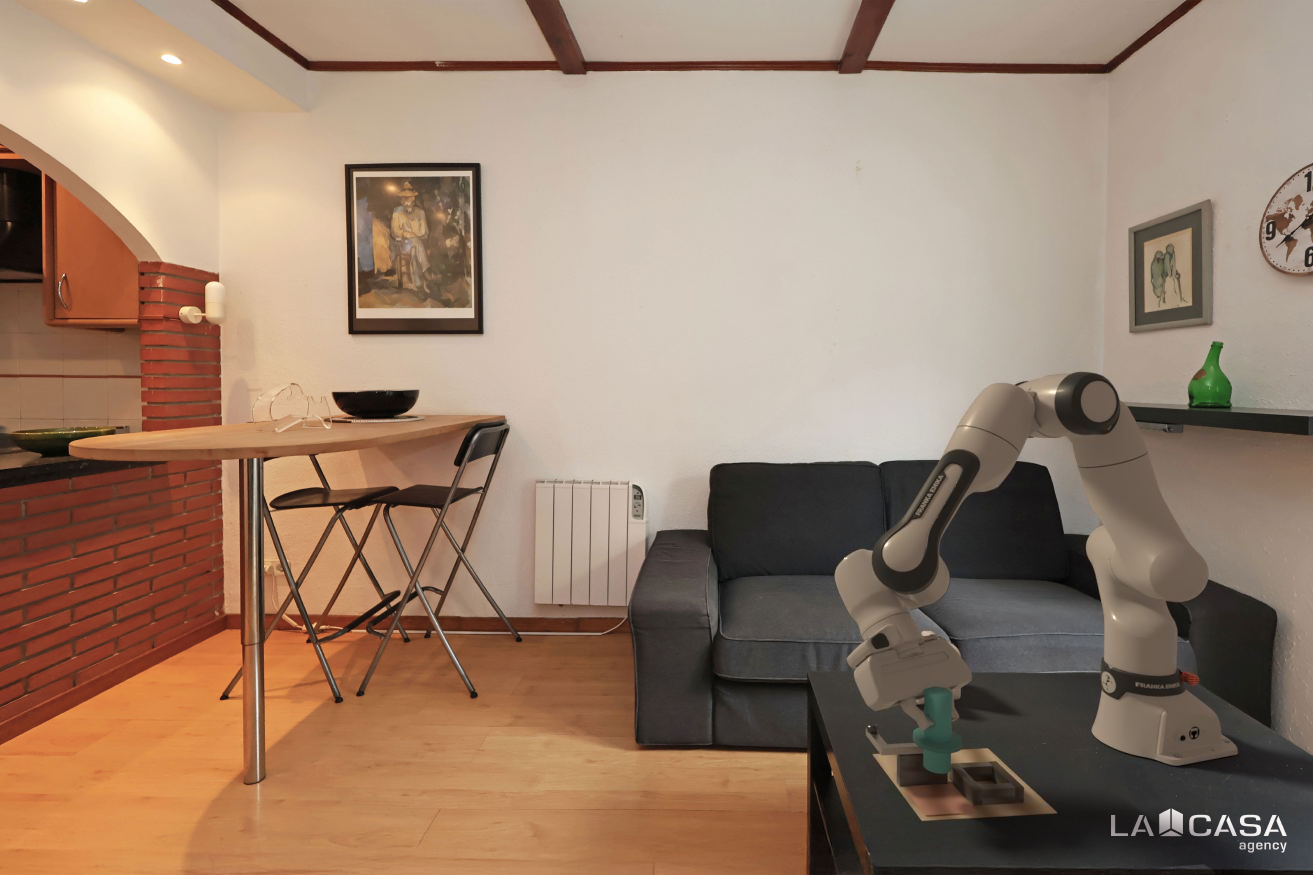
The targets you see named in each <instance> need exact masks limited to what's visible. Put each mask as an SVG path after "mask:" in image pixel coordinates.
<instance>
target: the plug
mask: <svg viewBox="0 0 1313 875" xmlns="http://www.w3.org/2000/svg"><path fill="white" fill-rule="evenodd" d="M923 705H924V707H923V713H924V714H929V715H930V717H931V720H933V722H934V726H932V727H931V728H929V729H926V730H921V729H920V727H919V726H918V727H916V728H914V730H913V732H912V741H913V743H915V744H916V745H918V746H919V747H921V748H923V749H924V750H923V766H924V767H925V768H926V769H927V770H929V771H931V772H934V773H939V774H944V773H948V772H950V770H951V753H955V752H958V751H960V750H963V744H964V742H963V738H962V736H960V735H959V734H958V733H957V732H955V731H953V730H952V729H953V728H952V727H953V726H952V725H953V724H952V692H951V691H950V690H948V689H946V688H942V687H936V686H934V687H930V688H927V689H925V691H924V704H923Z"/></svg>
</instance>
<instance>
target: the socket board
mask: <svg viewBox="0 0 1313 875" xmlns="http://www.w3.org/2000/svg"><path fill="white" fill-rule="evenodd" d="M872 756H873V758H875V760H876V761H877V763H878V764H879V765H880V767H881V768H882V769H883V771H884V772H885V773H886V775H887V776H888V777H889V779H890V780H891V782H892V783H893V784H894V785H895V787H896V788H897V789H898V791H899V792H900V794H902V796H903V798H904V799H905V800H906V801H907V803H908V804H909V806H910V807H911V808H912V811H914V813H915V814H916V816H918V818H919V819H920V820H921V821H922V822H930V821H932V822H933V821H946V820H947V821H948V820H962V819H963V820H964V819H965V820H967V819H981V818H997V817H998V818H999V817H1012V816H1013V817H1014V816H1016V817H1017V816H1032V815H1051V814H1058V811H1056V810H1055V809H1054V807H1052V806H1050V804H1049V803H1048V802H1046V800H1044V799H1043V798H1042V797H1041V796H1040V795H1039V794H1038V793H1037V792H1036V791H1035V790H1034V789H1032V787H1030V786H1029V785H1028V784H1027V783H1026V782H1025V781H1023V779H1021V778H1020V777H1019V776H1018V775H1017V774H1016V773H1015V772H1014V771H1013V770H1012V769H1011V768H1009V767H1010V766H1009V767H1008V765H1006V764H1005V763H1004V762H1003V761H1002V760H1001V759H1000V758H999V757H998V756H997V755H996V754H994V752H992V751H991V750H990V749H989V748H970V749H969V748H968V749H967V748H966V749H961V750H960V751H958V752H955V753H951V770H950V772H948V773H944V774H939V773H934V772H931V771H929V770H927V769H926V768H925V767H924V766H923V753H921V754H901V755H882V756H881V754H880V753H872Z"/></svg>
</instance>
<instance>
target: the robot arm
mask: <svg viewBox="0 0 1313 875" xmlns="http://www.w3.org/2000/svg"><path fill="white" fill-rule="evenodd" d="M1062 437H1066V438H1067V439H1068V441H1070V443H1071V444H1072V449H1073V454H1074V458H1075V460H1076V464H1077V467H1078V472H1079V475H1080V478H1081V482H1082V485H1083V488H1084V492H1085V495H1086V497H1087V501H1088V504H1089V506H1090V508H1091V510H1092V511H1093V512H1094V513H1095V514H1096V516H1097V517H1098V518H1099V520H1100V522H1101V523H1102V525H1100V526H1098V527H1097V528H1095V529H1094V530H1093V531H1092V532H1091V533H1090V534H1089V536H1088V538H1087V540H1086V544H1085V550H1086V556H1087V558H1088V560H1089V561H1090V563H1091V566H1092V567H1093V570H1094V574H1095V578H1096V583H1097V586H1098V592H1099V596H1100V600H1101V606H1102V611H1103V622H1104V626H1103V628H1104V633H1103V637H1104V638H1103V639H1104V640H1103V656H1102V658H1101V659H1100V674H1099V675H1100V677H1099V678H1100V685H1101V692H1100V693H1101V694H1100V699H1099V704H1098V708H1097V709H1098V710H1097V712H1096V717H1095V720H1094V722H1093V724H1092V727H1091V733H1092V734H1093V736H1094V737H1095V738H1096V739H1097V740H1099V741H1100V742H1102V743H1103V744H1105V745H1106V746H1109V747H1111V748H1112V749H1115V750H1117V751H1120V752H1122V753H1127V754H1130V755H1134V756H1138V757H1143V758H1148V759H1152V760H1156V761H1158V762H1162V763H1163V764H1166V765H1170V766H1178V767H1179V766H1183V765H1189V764H1194V763H1200V762H1204V761H1210V760H1215V759H1220V758H1224V757H1229V756H1236V755H1238V754H1239V750H1238V747H1237V745H1236V744H1235V743H1234V742H1233V741H1232V739H1229V738H1228V737H1226V736H1225V735H1224V734H1222V728H1221V723H1220V720H1219V717H1218V715H1217V713H1216V712H1215V711H1214V710H1213V709H1212V708H1211V707H1210V706H1208V705H1207V704H1205V702H1203V701H1202V700H1200V699H1199V698H1198V697H1196V696H1195V695H1194V694H1192V693H1191V692H1190V691H1189V690H1187V689H1186V686H1185V684H1184V683H1187V684H1188V685H1190V686H1193V687H1195V686H1197V685H1198V684H1199V683H1200V677H1199V676H1198V675H1197V674H1195V673H1192V671H1182V670H1181V669H1180V668H1178V667H1177V663H1178V662H1177V658H1178V627H1177V624H1176V622H1175V620H1174V618H1173V617H1172V615H1171V612H1170V610H1169V608H1168V604H1167V602H1172V603H1182V602H1183V603H1184V602H1187V601H1188V602H1189V601H1190V600H1193V599H1194V598H1197V597H1198V596H1199V595H1200V594H1201V593H1202V592H1203V591H1204V589H1205V588H1206V586H1207V584H1208V581H1209V575H1210V574H1209V566H1208V564H1207V562H1206V560H1205V559H1204V557H1203V555H1201V554H1200V552H1198V551H1197V550H1196V549H1195V547H1194V546H1192V544H1191V543H1190V542H1189V540H1188V539H1187V537H1186V536H1185V534H1184V532H1183V530H1182V528H1181V527H1180V525H1179V524H1178V522H1177V519H1176V518H1175V517H1174V515H1173V513H1172V512H1171V510H1170V508H1169V506H1168V504H1167V503H1166V501H1165V499H1164V497H1163V494H1162V492H1161V489H1160V486H1159V484H1158V481H1157V478H1156V475H1155V472H1154V468H1153V465H1152V462H1151V457H1150V454H1149V452H1148V449H1147V448H1148V447H1147V445H1146V442H1145V440H1144V437H1143V434H1142V432H1141V430H1140V428H1139V425H1138V423H1137V421H1136V419H1135V417H1134V415H1133V414H1132V411H1131V410H1130V408H1129V407H1128V405H1127V404H1126V403H1125V402H1123V401H1122V400H1121V399H1120V395H1119V394H1118V390H1117V389H1116V387H1115V386H1114V385H1113V383H1112V382H1111V381H1110V380H1109V379H1108V378H1107V377H1106V376H1104V375H1102V374H1099V373H1096V372H1090V371H1077V372H1076V371H1074V372H1072V373H1055V374H1049V375H1045V376H1043V377H1039V378H1035V379H1032V380H1031V379H1030V380H1023V381H1019V382H1017V383H1015V384H1012V383H1009V382H1008V383H1007V382H995V383H991V384H990V385H988V386H986V387H985V388H983V389H982V390H981V392H980V393H979V394H978V395H977V397H976V398H975V399H974V400H973V402H972V403H971V404H970V406H969V407H968V408H967V410H966V411H965V413H964V414H963V416H962V418H961V419H960V421H959V422H958V424H957V426H956V428H955V430H954V431H953V434H952V435H951V437H950V439H949V441H948V443H947V445H946V447H945V449H944V451H943V454H942V455H941V457H940V458H939V461H938V462H937V464H936V466H934V468H933V469H932V471H931V473H930V475H929V476H928V478H927V479H926V481H925V483H924V484H923V486H922V487H921V489H920V490H919V491H918V494H917V495H916V497H915V499H914V500H913V502H911V504H910V506H909V508H908V509H907V512H906V513H905V514H904V516H903V517H902V518H901V519H900V520H898V522H897V523H896V524H895V525H894V526H892V527H891V528H889V530H887V531H886V532H885V533H883V534H882V536H880V537H879V539H878V540H877V541H876V542H875V545H874V546H873V549H872V550H869V549H865V548H860V549H857V550H855V551H852V552H850V553H849V554H847V555H846V556H845V557H844V558H842V559H841V561H840V562H839V563H838V565H837V566H836V567H835V568H836V569H835V571H834V580H835V584H836V588H837V591H838V592H839V595H840V597H841V599H842V600H841V601H842V602H843V603H844V605H845V608H846V610H847V612H848V613H849V615H850V617H852V619H853V620H854V621H855V622H856V624H857V625H858V628H859V633H860V636H861V638H862V639H863V641H862V642H861V643H860V644H859V645H858V646H857V647H856V648H854V650H852V652H851V653H850V654H849V655H848V656H847V658H846V662H847V665H848V666H849V667H850V668H851V669H853V670H854V672H853V677H854V680H855V684H856V685H857V688H858V690H859V693H860V695H861V697H862V699H863V701H864V702H865V704H866V706H867V707H869V708H870V709H872V711H875V712H878V711H881V710H885V709H888V708H889V709H890V708H892V707H896V706H901V709H902V711H903V712H904V713H906V714H907V715H908V716H909V717H910V718H912V719H913V720H914V721H916V724H917V726H918V728H919V727H920V729H921V730H926V729H929V728H931V727H932V726H934V722H933V720H931V717H930V715H929V714H924V711H922V710H921V709H920V708H919V707H918V706H917V705H918V704H917V701H916V700H919V699H922V698H924V691H925V689H927V688H930V687H934V686H936V687H942V688H946V689H948V690H950V691H951V692H952V690H955V689H959V688H961V689H962V688H963V687H964V686H966V685H968V683H970V682H971V681H972V678H973V676H972V675H973V674H972V672H971V670H970V669H971V668H969V667H968V665H967V663H966V662H965V661H964V659H963V658H962V656H961V657H960V655H959V654H958V653H957V651H956V650H955V649H954V648H953V647H952V646H951V645H950V644H949V643H950V642H949V641H948V640H947V639H946V638H945V637H942V636H940V635H938V634H937V633H935V634H930V635H928V636H923V635H922V634H921V633H922V631H921V630H920V628H919V627H918V626H917V624H916V622H915V619H914V618H913V617H912V615H911V613H910V611H913V610H917V609H920V608H923V607H925V606H926V607H927V606H929V605H932V604H934V603H936V602H939V601H940V600H941V599H942V598H943V597H944V596H945V595H946V594H947V592H948V590H949V587H950V585H951V574H950V570H949V568H948V566H947V565H946V563H945V561H944V559H943V558H942V556H941V555H940V543H941V540H942V538H943V535H944V534H945V532H946V530H947V529H948V527H949V526H950V523H951V522H952V520H953V519H954V517H955V515H956V514H957V512H958V510H959V509H960V506H961V505H962V503H963V502H965V499H967V497H968V496H970V495H971V494H973V493H983V492H989V491H992V490H996V489H997V488H999V487H1000V486H1001V484H1002V483H1003V482H1004V480H1005V479H1006V478H1007V477H1008V475H1009V474H1010V473H1011V471H1012V470H1013V468H1014V467H1015V465H1016V462H1017V460H1018V459H1019V457H1020V455H1021V453H1022V451H1023V450H1024V447H1025V445H1026V441H1027V440H1028V439H1032V438H1033V439H1034V438H1038V439H1039V438H1040V439H1058V438H1062ZM938 638H939V639H938ZM948 642H949V643H948ZM958 719H960V715H959V713H958V711H957V709H956V708H955V700H954V695H953V693H952V722H956V721H957V720H958Z"/></svg>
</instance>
